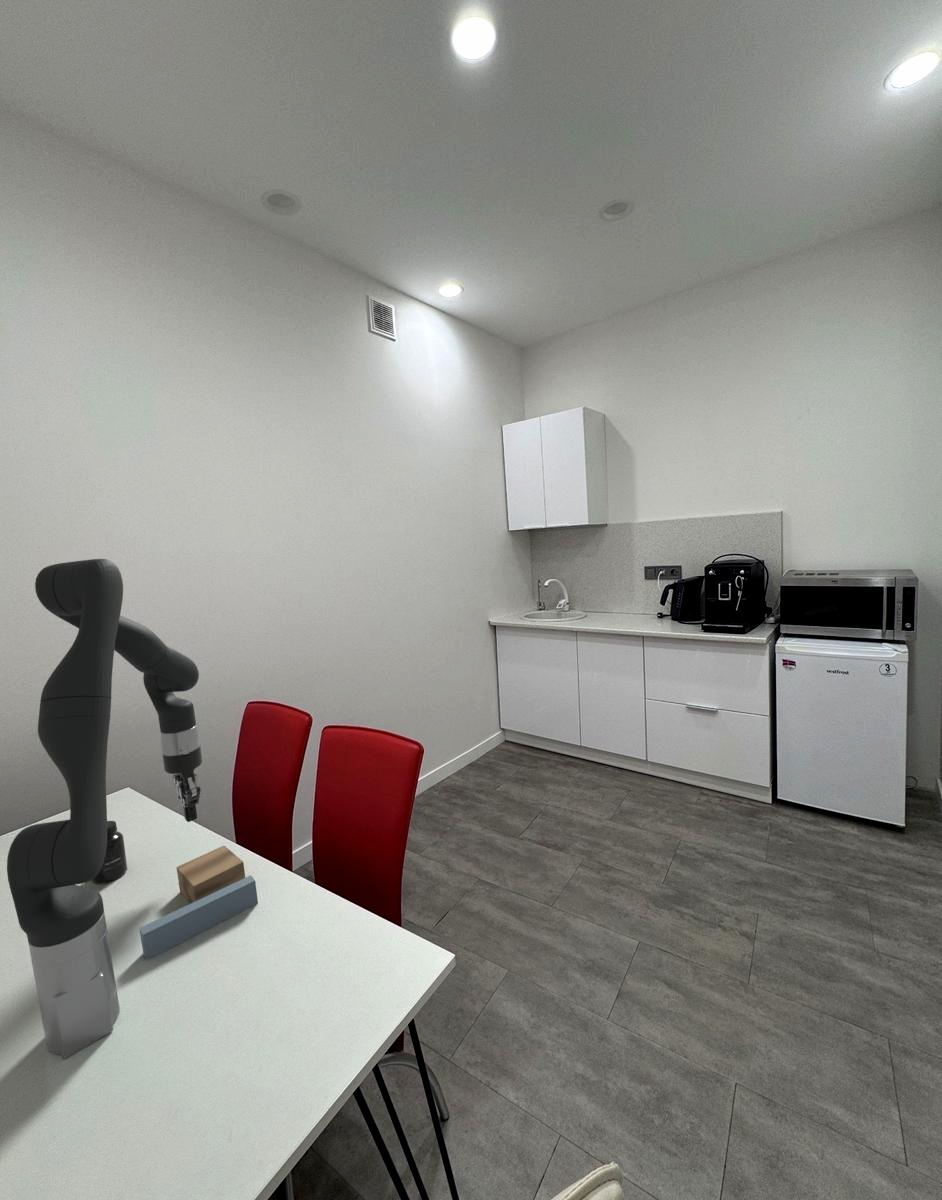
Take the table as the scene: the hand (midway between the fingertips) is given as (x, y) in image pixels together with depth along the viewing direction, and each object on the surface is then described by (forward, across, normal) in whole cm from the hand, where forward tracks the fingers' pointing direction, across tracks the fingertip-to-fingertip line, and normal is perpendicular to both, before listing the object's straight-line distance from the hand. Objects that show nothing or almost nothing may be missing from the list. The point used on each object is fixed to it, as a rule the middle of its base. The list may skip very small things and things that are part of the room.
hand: (191, 819), depth 120 cm
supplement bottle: (+12, -13, -15) cm, 23 cm away
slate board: (+12, +22, -5) cm, 25 cm away
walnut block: (+12, +11, 0) cm, 16 cm away
